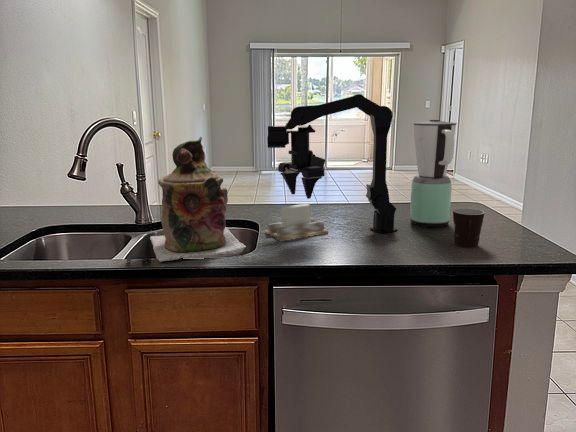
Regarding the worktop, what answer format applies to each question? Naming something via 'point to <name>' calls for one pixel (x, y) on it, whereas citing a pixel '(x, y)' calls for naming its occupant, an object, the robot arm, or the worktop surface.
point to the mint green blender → (432, 173)
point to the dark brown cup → (467, 227)
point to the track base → (296, 230)
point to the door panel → (296, 215)
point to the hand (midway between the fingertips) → (300, 196)
